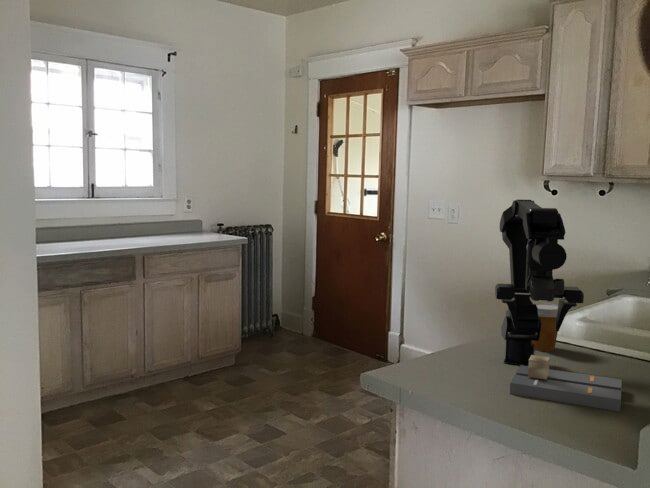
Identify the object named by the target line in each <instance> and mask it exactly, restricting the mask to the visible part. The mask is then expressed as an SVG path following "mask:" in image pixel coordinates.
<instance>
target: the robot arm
mask: <svg viewBox="0 0 650 488" xmlns="http://www.w3.org/2000/svg"><path fill="white" fill-rule="evenodd" d="M499 232H500V233H501V236H502V241H503V243H504V244H505V245H506V246H507V248H508V251H509V254H508V255H509V270H510V271H509V274H510V283H497V284H496V285H495V288H494V295H495V298H496V300H501V303H503V304H506V305H507V307H508V308H507V310H506V311H505V316H504V318H503V321H502V324H501V329H500V330H501V331H500V332H501V334H500V335H501V337H502V338H503V339H504V341H505V357H504V360H503V363H504V364H512V365H516V366H517V365H518V366H520V365H522V366H528V365H529V358H530V356H531V355H535V356H536V354H535V353H536V350H535V345H534V344H533V340H534V341H538V340H539V337H540V331H541V327H542V323H541V321H540V318H539V317H538V308H537V306H536V304H533V303H534V301H535V302H539V301H547V302H554V300H555V299H558V304H557V305H558V312H557V319H556V331H558V332H559V331H560V329H561V327H562V325H563V322H564V320H565V318H566V315H567V314H568V312H569V311H570V310H571V308H573V307H577V306H578V304H584V300H585V299H584V298H585V296H584V295H585V294H584V292H583V291H582V290H581V289H580V288H579V287H578V286H565V280H564V278H554V276H553V274H554V273H553V271H554V270H558V269H559V268H561V267H563V265H564V264H565V263H566V261H567V257H568V256H567V252H566V250H565V248H564V247H563V246H562V245H561V244H559V243H558V242H559V240H562V241H563V240H565V235H566V228H565V224H564V221H563V218H562V215H561V213H560V212H559V211H558V208H556V207H542V206H540V205H538V204H537V203H535V200H532V199H515V200H512V204H511V205H510V206H509V207H508V208H506V209H505V210H504V211H503V212H502V214H501V217H500V221H499Z"/></svg>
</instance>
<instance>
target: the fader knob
mask: <svg viewBox="0 0 650 488" xmlns="http://www.w3.org/2000/svg"><path fill="white" fill-rule="evenodd" d="M549 369H550V357H549V356H541V355H536V354H535V355H531V356H530V358H529V365H528V377H532V378H539V379H545V380H547V378H548V375H549Z"/></svg>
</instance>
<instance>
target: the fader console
mask: <svg viewBox="0 0 650 488" xmlns="http://www.w3.org/2000/svg"><path fill="white" fill-rule="evenodd" d="M622 381H623V380H622V379H621V378H613V377H607V376H599V375H592V374H585V373H579V372H578V373H577V372H571V371H564V370H559V369H558V370H555V369H550V368H549V375H548V378H547V380H545V379H539V378H532V377H528V366H524V365H519V367H518V368H517V370H516V372H515V374H514V375H513V378H512V379H511V381H510V384H509V385H510V386H509V395H516V396H521V397H527V398H534V399H541V400H547V401H552V402H559V403H565V404H571V405H578V406H583V407H589V408H596V409H601V410H607V411H608V410H609V411H613V412H621V407H622V405H621V404H622V386H623V384H622V383H623V382H622Z"/></svg>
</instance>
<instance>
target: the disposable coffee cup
mask: <svg viewBox="0 0 650 488" xmlns="http://www.w3.org/2000/svg"><path fill="white" fill-rule="evenodd" d="M532 303H533V304H536V306H537V308H538V317H539V318H540V321H541V323H542V327H541V331H540V337H539V340H538V341H534V340H533V344H534V345H535V351H539V352H552V351H555V350H556V349H555V348H556V344H557V343H556V342H557V337H558V333H559V331H556V319H557V312H558V304H553V303H549V302H532Z"/></svg>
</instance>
